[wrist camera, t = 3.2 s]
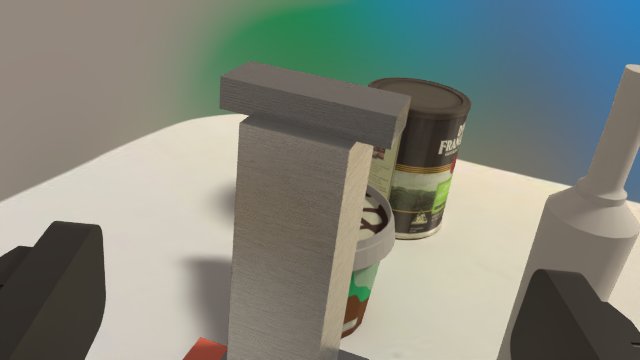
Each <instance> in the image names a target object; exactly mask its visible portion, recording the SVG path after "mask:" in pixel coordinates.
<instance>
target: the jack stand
mask: <svg viewBox="0 0 640 360" xmlns="http://www.w3.org/2000/svg"><path fill="white" fill-rule="evenodd" d="M227 350H228V347H227V346H224V345H221V344H218V343H215V342H213V341H210V340H207V339H204V338H201V337H200V338H199V340H198V341H197V342H196V343H195V345H194V346H193V347H192V348H191V350H190V351H189V352H188V353H187V355H186V356H185V357H184V359H183V360H227ZM337 360H369V359H367V358H364V357H361V356H358V355H355V354H352V353H349V352H346V351H343V350H340V349H339V351H338V357H337Z"/></svg>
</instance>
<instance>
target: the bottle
mask: <svg viewBox="0 0 640 360" xmlns="http://www.w3.org/2000/svg"><path fill="white" fill-rule="evenodd" d="M613 101H614V103H613V106H612V109H611V111H610V114H609V117H608V120H607V122H606V125H605V128H604V130H603V133H602V136H601V138H600V141H599V144H598V146H597V149H596V152H595V155H594V157H593V160H592V163H591V166H590V168H589V171H588V173H587V176H586V177H583V178H580V179H579V180H578V182H577V184H576V186H574V187H571V188H568V189H566V190H563V191H560V192H557V193H555V194H552V195H549V197H548V199H547V201H546V203H545V206H544V210H543V213H542V216H541V219H540V222H539V226H538V229H537V232H536V235H535V238H534V242H533V245H532V248H531V251H530V255H529V258H528V261H527V264H526V267H525V271H524V274H523V277H522V280H521V283H520V287H519V290H518V293H517V296H516V299H515V303H514V306H513V309H512V312H511V315H510V319H509V322H508V325H507V328H506V331H505V335H504V338H503V341H502V344H501V347H500V351H499V354H498V357H497V360H511V354H510V340H511V334H512V330H513V327H514V324H515V321H516V319H517V316H518V313H519V310H520V307H521V304H522V302H523V299H524V296H525V293H526V290H527V287H528V285H529V282H530V279H531V277H532V275H533V273H534V272H535V271H536V270H537V269H549V270H559V271H569V272H579V273H581V274H582V275H583V276H584V277H585V278H586V279H587V281H588V282H589V284H590V285H591V287H592V288H593V289H594V291H595V292H596V294H597V295H598V297H599V298H600V300H601V301H603V302H607V301H608V299H609V297H610V294H611V292H612V290H613V288H614V286H615V284H616V282H617V279H618V277H619V275H620V273H621V271H622V269H623V267H624V264H625V262H626V260H627V258H628V256H629V254H630V251H631V249H632V247H633V245H634V243H635V241H636V239H637V236H638V234H639V231H640V224H639V222H638V221H637V219H636V218H635V216H634V215H633V213H632V212H631V210H630V209H629V207H628V206H627V204H626V203H625V200H626V197H627V193H626V192H625V190H624V189H623V186H624V184H625V181H626V179H627V176H628V173H629V171H630V168H631V166H632V163H633V161H634V158H635V156H636V153H637V151H638V148H639V146H640V65H626V67H625V70H624V73H623V75H622V78H621V81H620V84H619V86H618V89H617V92H616V95H615V97H614V100H613Z"/></svg>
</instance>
